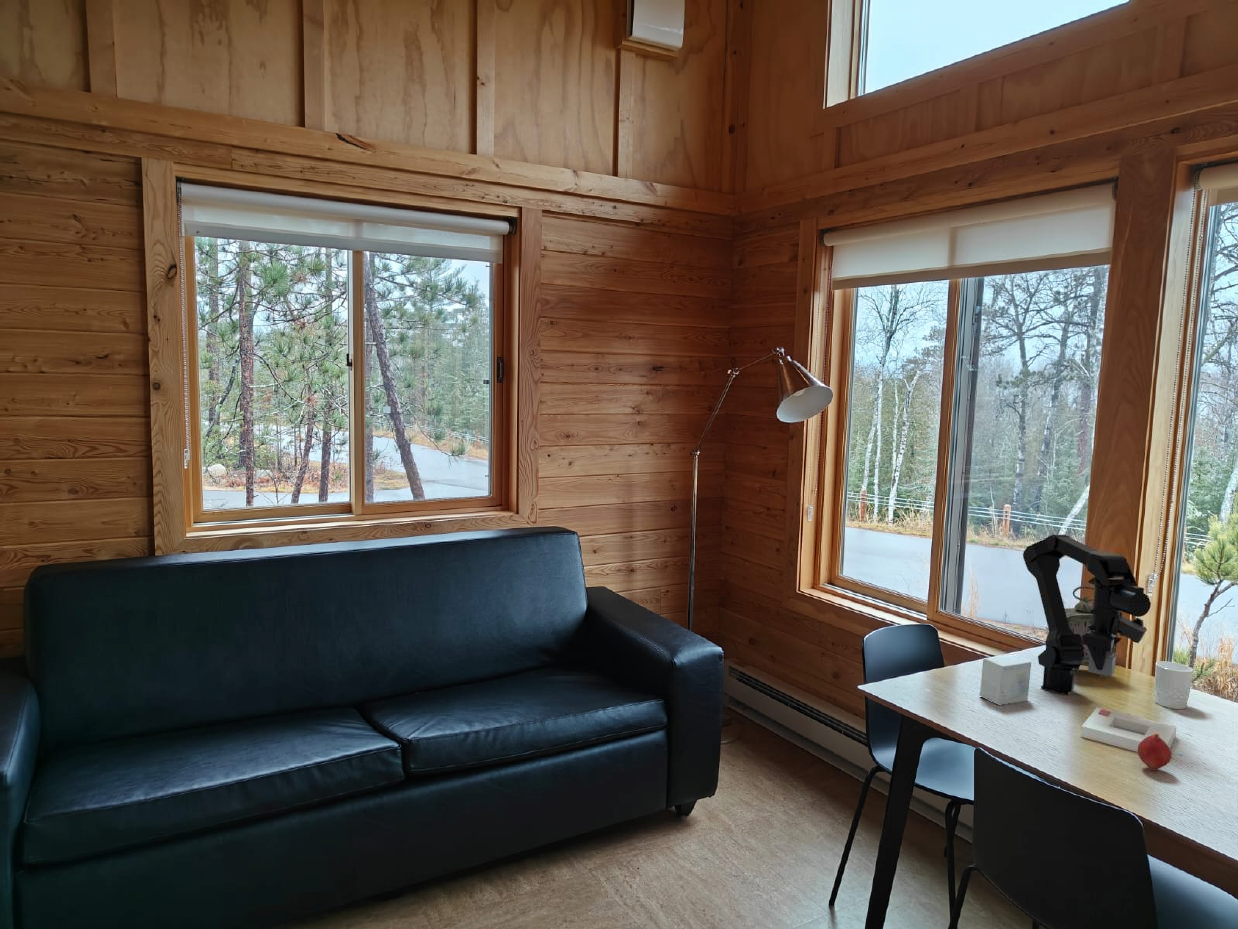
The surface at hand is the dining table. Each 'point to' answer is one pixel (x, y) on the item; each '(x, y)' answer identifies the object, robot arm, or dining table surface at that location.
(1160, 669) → the white cup
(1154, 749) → the onion
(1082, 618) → the tabletop clock
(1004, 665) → the skincare box
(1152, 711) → the dining table surface
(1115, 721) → the socket plate
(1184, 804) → the dining table surface
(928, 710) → the dining table surface
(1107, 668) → the plug
